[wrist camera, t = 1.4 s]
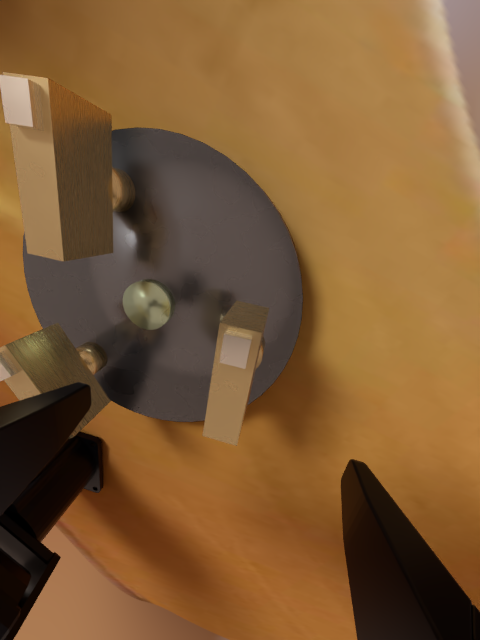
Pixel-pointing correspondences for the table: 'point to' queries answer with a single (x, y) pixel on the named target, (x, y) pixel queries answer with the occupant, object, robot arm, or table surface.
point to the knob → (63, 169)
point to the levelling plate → (175, 277)
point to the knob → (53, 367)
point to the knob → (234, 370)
